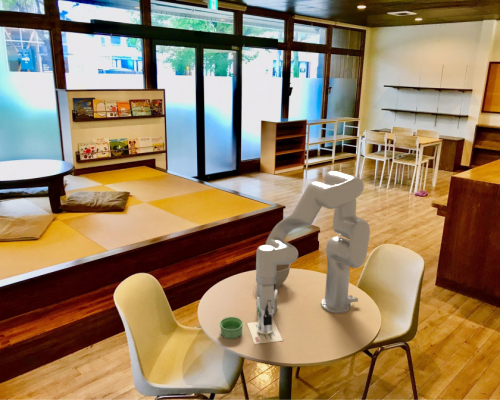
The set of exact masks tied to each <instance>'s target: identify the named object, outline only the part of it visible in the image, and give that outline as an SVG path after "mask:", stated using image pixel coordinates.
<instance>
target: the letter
mask: <svg viewBox="0 0 500 400" xmlns="http://www.w3.org/2000/svg"><path fill="white" fill-rule="evenodd" d="M246 324H247V328H248V330H249V332H250V335H251V338H252V341H253V344H254V345H260V344H267V343H268V344H269V343H274V342H275V343H276V342H283V341H284V340H283V338H282V335H281V333H280V331H279V330H278V326H277V325H276V322H275V320H274V319H272V327H273V331H272V332H271V333H269V334H261V333H259V332H258V331H257V327H258V321H254V322H253V321H252V322H247V323H246Z"/></svg>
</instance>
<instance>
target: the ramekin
mask: <svg viewBox="0 0 500 400" xmlns="http://www.w3.org/2000/svg"><path fill="white" fill-rule="evenodd" d="M243 326H244V322H243V320H242V319H241V318H240V317H237V316H228V317H225V318H222V319H221V320H220V322H219V327H220V334H221V335H222V336H223V338H226V339H231V340H233V339H237V338H239V337H241V335H242V334H243Z"/></svg>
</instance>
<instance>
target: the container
mask: <svg viewBox="0 0 500 400" xmlns="http://www.w3.org/2000/svg"><path fill="white" fill-rule="evenodd" d="M278 292H279V291H278V289H276V288H275V284H274V302H275V306H274V313H273V315H275V314H276V310H277V307H278Z"/></svg>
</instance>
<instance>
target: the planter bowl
mask: <svg viewBox="0 0 500 400" xmlns="http://www.w3.org/2000/svg"><path fill="white" fill-rule="evenodd" d="M290 268H291V264H287V265H277V267H276V283H275V289H278V288H279V289H280V288H281V287H282V286H283V284H284V283H285V281H286V280H287V278H288V277H289V273H290Z"/></svg>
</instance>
